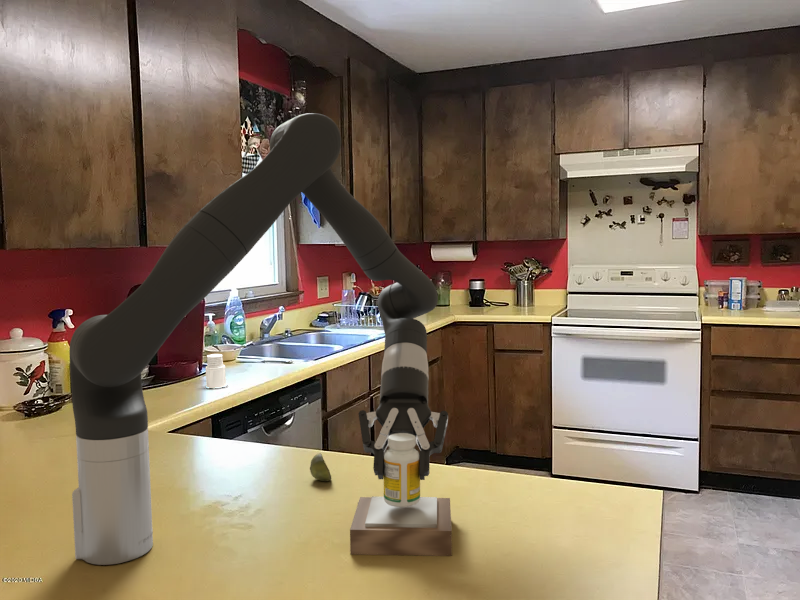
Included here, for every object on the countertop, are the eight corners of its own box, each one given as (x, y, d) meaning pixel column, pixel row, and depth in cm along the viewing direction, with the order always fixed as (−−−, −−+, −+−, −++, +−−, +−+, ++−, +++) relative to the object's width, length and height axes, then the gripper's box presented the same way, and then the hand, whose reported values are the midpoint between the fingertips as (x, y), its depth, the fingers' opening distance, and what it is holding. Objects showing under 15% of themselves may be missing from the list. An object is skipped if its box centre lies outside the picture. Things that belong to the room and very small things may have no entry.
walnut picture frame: (350, 554, 92) (349, 526, 92) (360, 518, 104) (359, 493, 103) (451, 555, 91) (451, 527, 91) (450, 519, 103) (449, 494, 103)
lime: (320, 474, 124) (319, 448, 124) (340, 479, 122) (339, 452, 121) (303, 481, 121) (303, 454, 120) (323, 486, 118) (323, 459, 118)
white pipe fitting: (211, 383, 209) (209, 352, 208) (232, 384, 208) (230, 352, 207) (200, 390, 201) (198, 358, 200) (222, 390, 200) (220, 358, 199)
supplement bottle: (385, 508, 94) (384, 442, 93) (382, 494, 100) (381, 432, 99) (422, 507, 95) (422, 441, 94) (418, 493, 100) (417, 430, 99)
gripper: (357, 364, 103) (348, 465, 92) (450, 364, 103) (452, 466, 92) (362, 390, 109) (354, 488, 98) (449, 390, 108) (451, 489, 97)
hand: (401, 476), depth 95 cm, fingers closed on supplement bottle, 5 cm apart
